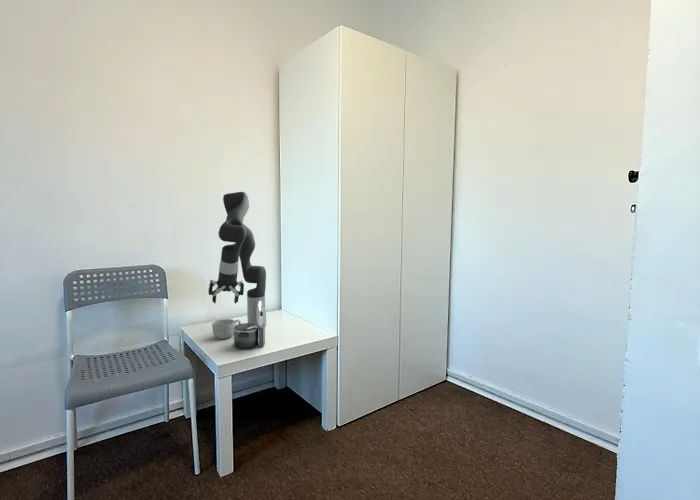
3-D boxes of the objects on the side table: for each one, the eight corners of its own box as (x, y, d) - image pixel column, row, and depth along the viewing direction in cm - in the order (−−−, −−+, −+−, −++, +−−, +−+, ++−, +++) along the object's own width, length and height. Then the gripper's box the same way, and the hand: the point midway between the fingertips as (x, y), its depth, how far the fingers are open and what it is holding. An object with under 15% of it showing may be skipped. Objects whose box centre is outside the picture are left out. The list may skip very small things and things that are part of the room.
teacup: (213, 342, 192) (213, 325, 191) (211, 334, 202) (211, 319, 201) (243, 338, 198) (242, 322, 197) (239, 331, 208) (239, 316, 207)
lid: (260, 297, 192) (264, 297, 192) (260, 322, 194) (264, 322, 194) (255, 304, 180) (260, 304, 181) (256, 330, 182) (260, 330, 182)
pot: (237, 339, 196) (237, 321, 194) (266, 339, 196) (266, 321, 195) (230, 351, 181) (230, 331, 180) (261, 351, 182) (261, 331, 181)
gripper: (245, 265, 174) (240, 297, 180) (210, 264, 168) (207, 297, 174) (247, 274, 167) (242, 307, 174) (211, 273, 162) (207, 307, 168)
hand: (224, 302), depth 174 cm, fingers open, 8 cm apart
